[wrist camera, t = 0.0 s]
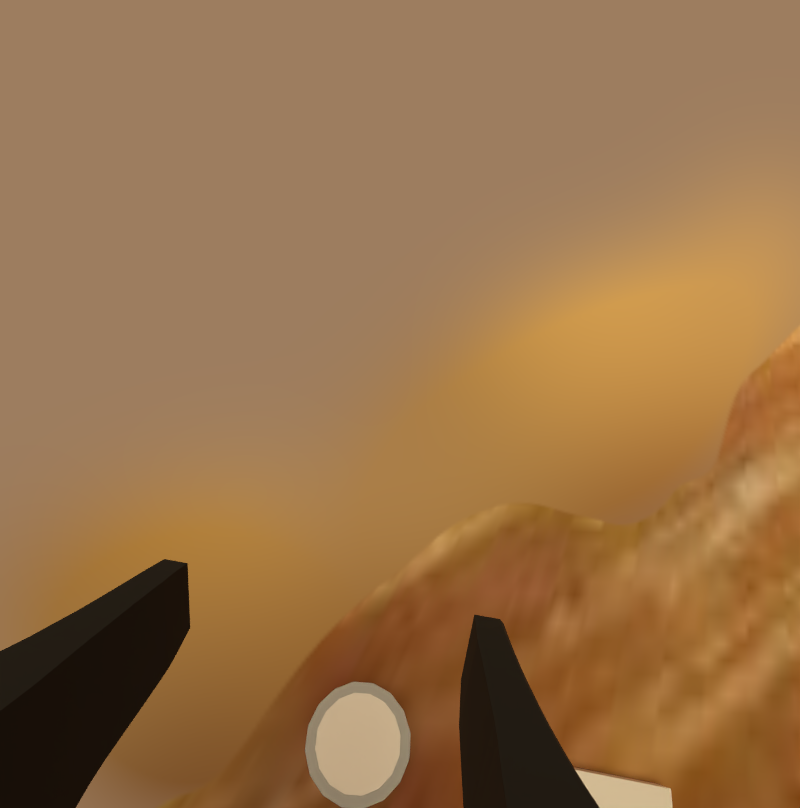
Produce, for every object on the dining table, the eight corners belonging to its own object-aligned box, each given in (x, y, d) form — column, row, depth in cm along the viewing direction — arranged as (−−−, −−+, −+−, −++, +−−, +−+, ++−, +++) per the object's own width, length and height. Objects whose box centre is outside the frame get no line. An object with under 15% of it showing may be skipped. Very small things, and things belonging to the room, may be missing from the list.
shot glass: (402, 675, 40) (403, 674, 34) (414, 780, 36) (418, 800, 30) (317, 688, 39) (302, 689, 33) (322, 796, 36) (306, 819, 30)
